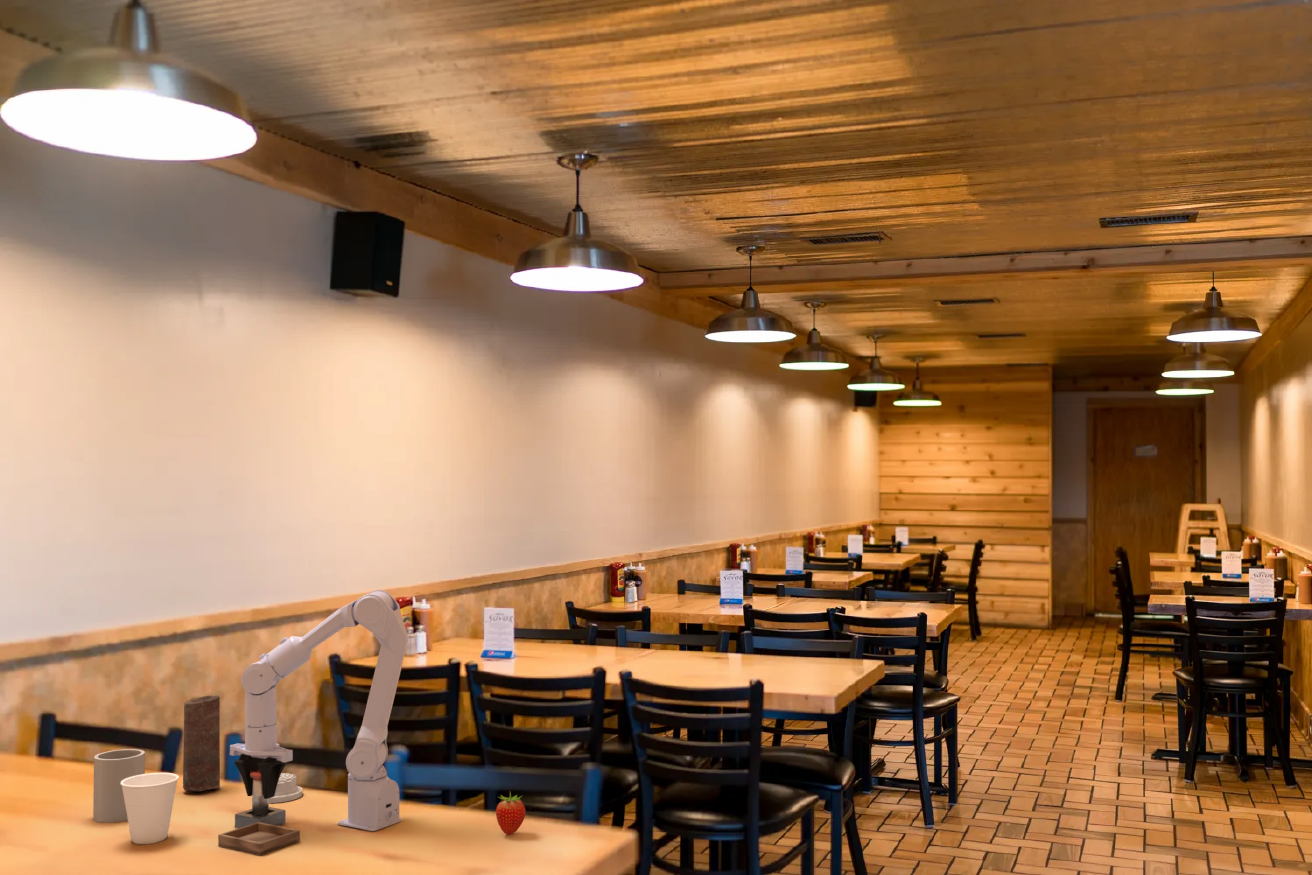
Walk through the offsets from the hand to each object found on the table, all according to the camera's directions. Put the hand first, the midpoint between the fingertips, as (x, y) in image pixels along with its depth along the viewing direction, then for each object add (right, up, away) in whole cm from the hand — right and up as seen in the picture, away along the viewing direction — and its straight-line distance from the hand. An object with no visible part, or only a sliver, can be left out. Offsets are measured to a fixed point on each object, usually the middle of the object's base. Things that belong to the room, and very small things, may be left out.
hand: (260, 796), depth 219 cm
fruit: (+49, -5, -8) cm, 50 cm away
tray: (+4, -5, -12) cm, 13 cm away
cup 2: (-18, -6, -9) cm, 20 cm away
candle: (-21, -7, +25) cm, 33 cm away
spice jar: (0, -3, 0) cm, 3 cm away
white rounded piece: (-3, -7, +20) cm, 21 cm away
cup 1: (-31, -6, +7) cm, 32 cm away
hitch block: (0, -6, 0) cm, 6 cm away
